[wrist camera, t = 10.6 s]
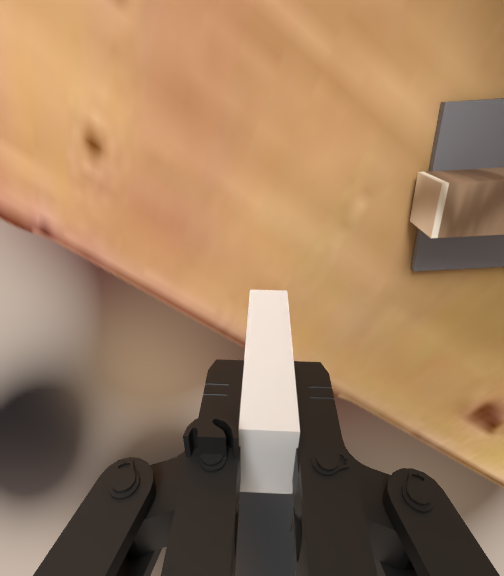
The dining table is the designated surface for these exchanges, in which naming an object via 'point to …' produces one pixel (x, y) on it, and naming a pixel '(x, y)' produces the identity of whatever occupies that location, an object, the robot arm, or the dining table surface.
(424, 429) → the dining table surface
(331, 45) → the dining table surface
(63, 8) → the dining table surface
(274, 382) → the robot arm
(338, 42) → the dining table surface
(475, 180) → the walnut block
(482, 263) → the mat
